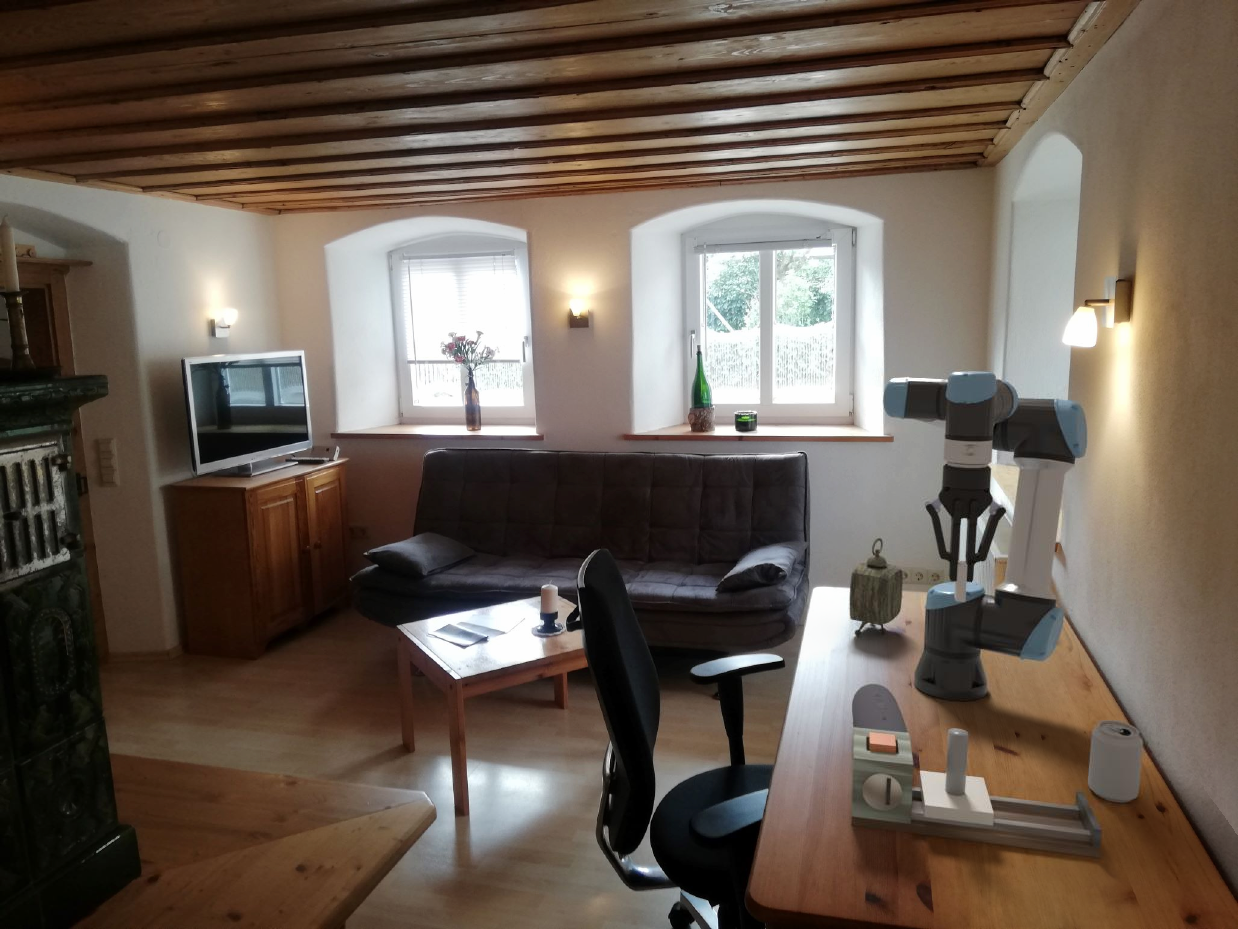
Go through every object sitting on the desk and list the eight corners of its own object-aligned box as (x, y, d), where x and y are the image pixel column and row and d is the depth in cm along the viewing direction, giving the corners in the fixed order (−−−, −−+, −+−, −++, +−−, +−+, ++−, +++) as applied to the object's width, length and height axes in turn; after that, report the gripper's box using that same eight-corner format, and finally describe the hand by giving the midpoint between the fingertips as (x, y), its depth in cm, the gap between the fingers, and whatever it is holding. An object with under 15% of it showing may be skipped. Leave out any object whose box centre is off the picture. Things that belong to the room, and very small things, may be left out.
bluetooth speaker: (914, 790, 150) (917, 736, 149) (858, 785, 152) (860, 731, 150) (897, 730, 172) (899, 682, 171) (848, 727, 174) (850, 679, 172)
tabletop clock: (868, 621, 235) (871, 531, 231) (901, 627, 230) (905, 535, 226) (848, 637, 224) (851, 542, 220) (883, 644, 218) (887, 547, 214)
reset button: (868, 749, 145) (869, 732, 144) (893, 751, 144) (894, 734, 143) (869, 760, 141) (869, 743, 141) (895, 763, 140) (895, 746, 140)
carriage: (919, 781, 147) (922, 714, 145) (982, 789, 145) (986, 720, 143) (924, 816, 137) (928, 745, 135) (993, 825, 134) (997, 752, 132)
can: (1137, 809, 144) (1143, 741, 142) (1085, 797, 147) (1091, 730, 146) (1138, 789, 150) (1144, 723, 148) (1089, 777, 154) (1094, 713, 152)
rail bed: (851, 789, 150) (853, 727, 149) (1081, 817, 141) (1086, 751, 140) (851, 827, 139) (853, 760, 137) (1101, 860, 130) (1107, 789, 128)
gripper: (928, 466, 144) (921, 603, 148) (1013, 468, 141) (1004, 609, 145) (924, 459, 152) (918, 590, 155) (1005, 461, 148) (997, 595, 152)
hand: (959, 599), depth 150 cm, fingers closed
